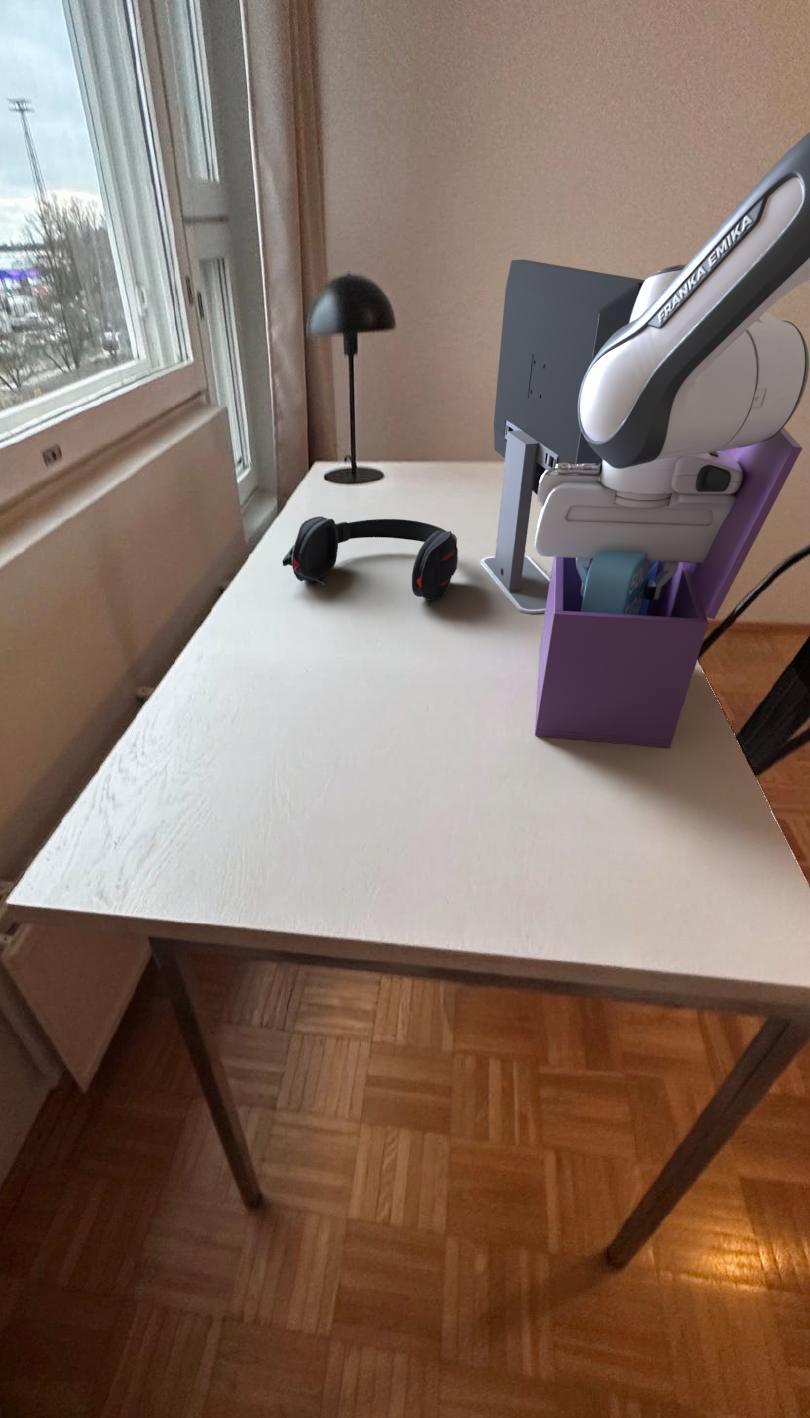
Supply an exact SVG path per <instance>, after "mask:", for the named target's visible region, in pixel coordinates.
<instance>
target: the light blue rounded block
mask: <svg viewBox="0 0 810 1418" xmlns="http://www.w3.org/2000/svg"><path fill="white" fill-rule="evenodd" d="M646 557H647V554H646V553H643V552H619V551H601V552H599V553H598V554H597V555H596V556H595V557H594V559H593V560H592V562H591V565H590V567H589V570H588V574H587V580H586V585H585V591H584V596H583V602H582V607H581V612H590V613H607V614H625V615H642V616H646V613H647V609H648V605H649V601H650V600H645V599H644V596H643V594H644V589H645V588H646V586H645V585H646V581H647V579H655V576H656V572H657V568H658V564H659V561H646Z"/></svg>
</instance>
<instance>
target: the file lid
mask: <svg viewBox="0 0 810 1418" xmlns="http://www.w3.org/2000/svg"><path fill="white" fill-rule="evenodd" d="M721 451H722V452H725V453H727V454H730V455H731V456H732V457H733V458H734V459H735V460H736V461H737V462H738V463H739V465H740V467H741V469H742V472H743V480H742V483H741V486H740V488H739V489H738V491H737V492H735V495H736V500H735V502H734V504H733V506H732V508H731V510H730V512H729V513H728V515H727V517H726V518H725V520H724V522H723V524H722V525H721V527H720V529H719V531H718V533H717V535H716V537H715V539H714V541H713V543H712V546H711V548H710V550H709V552H708V554H707V556H706V558H705V560H704V562H703V563H689V565H690V569H691V572H692V575H693V578H694V581H695V584H696V587H697V590H698V593H699V596H700V599H701V603H702V606H703V609H704V612H705V615H706V617H707V619H711V620H715V619H716V617H717V615H718V613H719V611H720V609H721V607H722V605H723V603H724V601H725V600H726V598H727V595H728V593H729V592H730V590H731V588H732V586H733V584H734V583H735V581H736V578H737V577H738V574H739V572H740V570H741V569H742V566H743V564H744V562H745V560H746V558H747V557H748V555H749V553H750V551H751V549H752V547H753V545H754V543H755V542H756V539H757V538H758V536H759V534H760V532H761V530H762V527H763V525H764V524H765V522H766V520H767V518H768V516H769V514H770V512H771V510H772V508H773V507H774V505H775V502H776V501H777V499H778V497H779V496H780V494H781V491H782V490H783V487H784V485H785V483H786V481H787V479H788V478H789V475H790V474H791V471H792V470H793V468H794V466H795V465H796V462H797V460H798V458H799V456H800V454H801V452H802V451H803V447H802V446H801V445H800V444H799V443H798V441H797V440H796V439H795V437H793V436H792V434H790V432H788V430H787V429H786V428H785V426H784V427H783V428H782V429H781V430H780V431H779V432H778V433H777V434H776V435H775V436H774V437H772V438H771V439H769V440H767V441H764V442H760V443H757V444H754V445H751V446H747V447H742V448H735V449H729V450H721Z"/></svg>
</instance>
